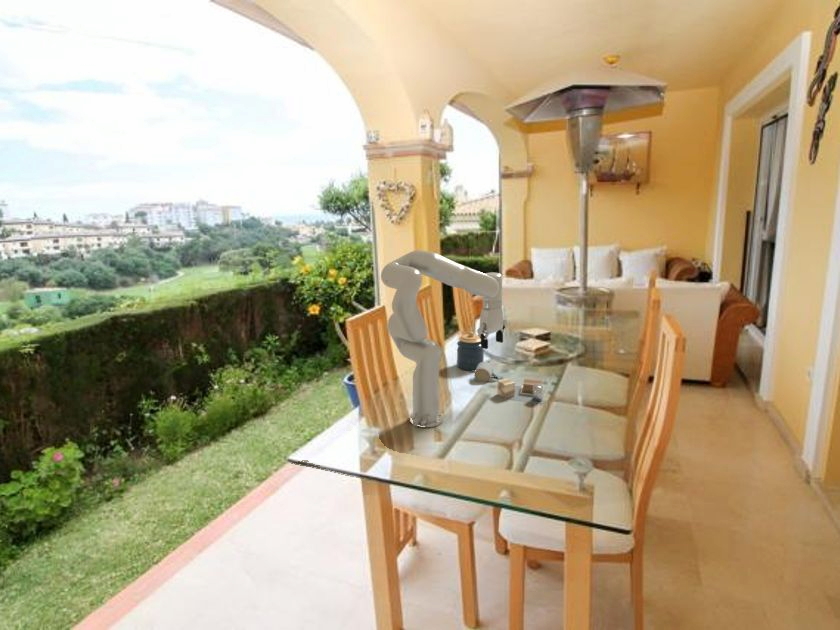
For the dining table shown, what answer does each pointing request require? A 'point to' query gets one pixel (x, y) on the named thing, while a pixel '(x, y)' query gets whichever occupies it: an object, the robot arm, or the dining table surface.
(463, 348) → the canister
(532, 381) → the walnut block
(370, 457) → the dining table surface
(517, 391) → the slate board
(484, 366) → the ceramic mug
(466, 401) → the dining table surface
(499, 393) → the beech block
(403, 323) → the robot arm
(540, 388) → the grey block
